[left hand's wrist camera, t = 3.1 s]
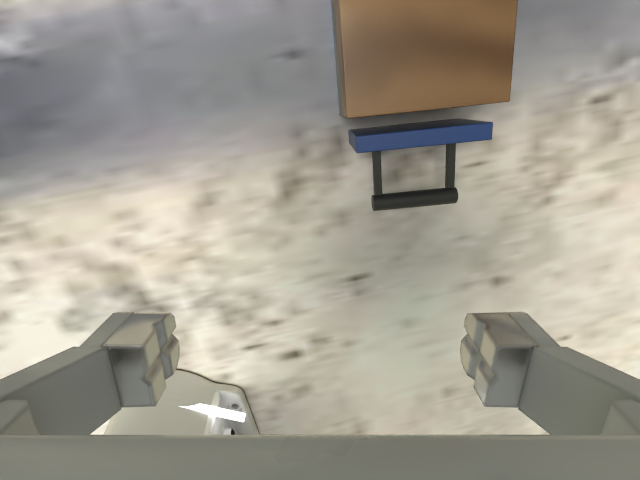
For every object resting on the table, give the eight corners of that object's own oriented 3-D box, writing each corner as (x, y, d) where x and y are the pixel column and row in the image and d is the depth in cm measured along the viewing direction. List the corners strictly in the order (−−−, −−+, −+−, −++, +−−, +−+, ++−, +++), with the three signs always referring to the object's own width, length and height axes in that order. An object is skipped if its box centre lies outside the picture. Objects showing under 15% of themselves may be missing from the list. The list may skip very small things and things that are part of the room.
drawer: (456, 191, 34) (487, 211, 28) (353, 201, 34) (360, 223, 28) (465, -87, 27) (511, -146, 20) (334, -71, 27) (339, -124, 21)
